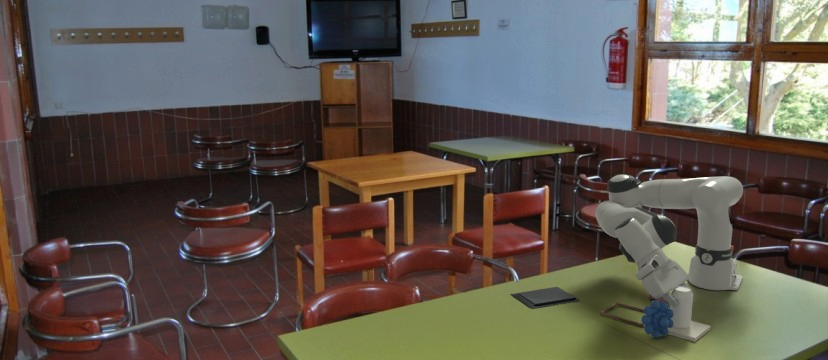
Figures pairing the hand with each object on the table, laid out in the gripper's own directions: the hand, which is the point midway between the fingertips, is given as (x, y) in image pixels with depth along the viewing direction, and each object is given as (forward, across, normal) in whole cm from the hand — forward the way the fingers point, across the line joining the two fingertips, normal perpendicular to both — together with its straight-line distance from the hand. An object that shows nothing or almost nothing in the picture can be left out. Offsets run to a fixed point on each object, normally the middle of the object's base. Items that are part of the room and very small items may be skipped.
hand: (683, 301), depth 210 cm
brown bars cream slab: (0, 0, -13) cm, 13 cm away
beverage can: (+5, 0, -6) cm, 8 cm away
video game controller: (-3, -15, -16) cm, 23 cm away
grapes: (+5, +11, -8) cm, 15 cm away
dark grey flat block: (-25, +5, -39) cm, 47 cm away
